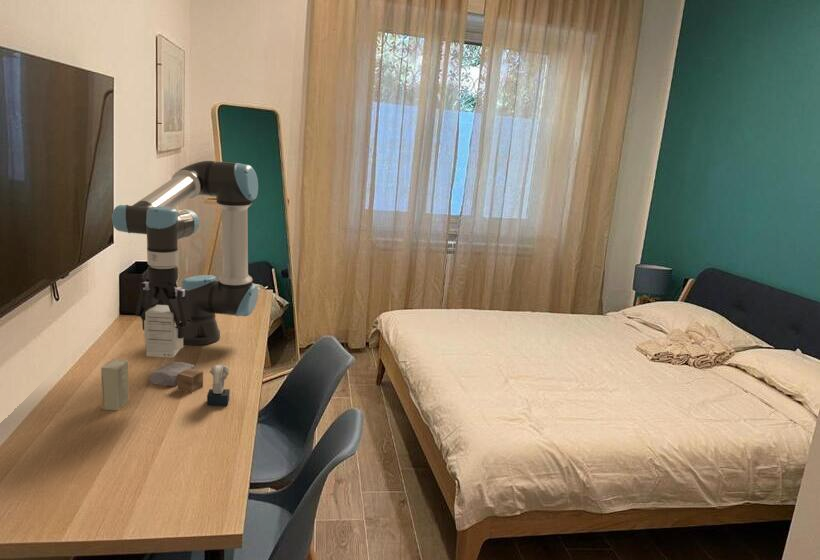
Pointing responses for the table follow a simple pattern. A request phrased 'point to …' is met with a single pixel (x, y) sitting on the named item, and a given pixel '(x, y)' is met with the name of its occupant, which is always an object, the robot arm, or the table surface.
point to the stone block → (169, 373)
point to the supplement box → (160, 332)
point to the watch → (218, 387)
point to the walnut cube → (190, 380)
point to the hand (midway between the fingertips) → (163, 345)
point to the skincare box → (114, 384)
